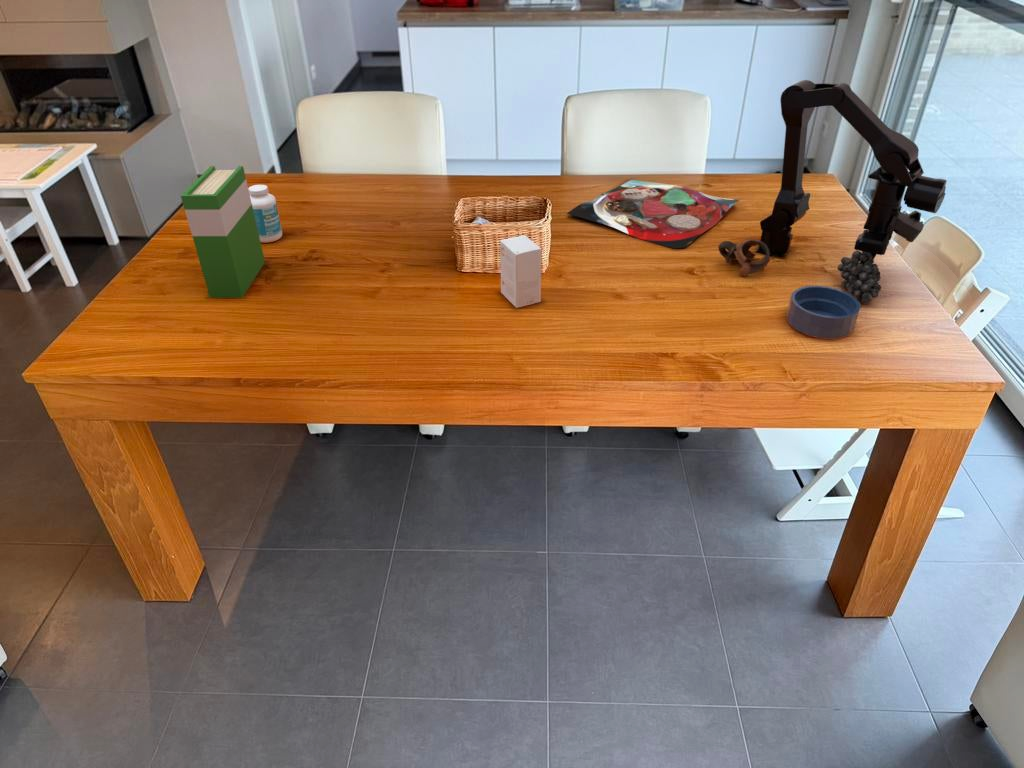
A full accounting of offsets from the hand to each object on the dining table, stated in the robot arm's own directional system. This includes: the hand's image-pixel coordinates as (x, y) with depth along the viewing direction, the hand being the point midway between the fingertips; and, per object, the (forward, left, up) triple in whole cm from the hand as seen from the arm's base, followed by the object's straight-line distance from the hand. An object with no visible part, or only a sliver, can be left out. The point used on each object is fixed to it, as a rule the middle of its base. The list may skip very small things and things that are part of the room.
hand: (867, 265), depth 169 cm
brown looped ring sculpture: (-26, -9, -3) cm, 28 cm away
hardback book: (-126, -74, -3) cm, 146 cm away
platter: (-57, +11, -3) cm, 58 cm away
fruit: (0, -9, -3) cm, 9 cm away
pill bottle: (-137, -54, -3) cm, 147 cm away
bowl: (-4, -26, -3) cm, 27 cm away
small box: (-64, -48, -3) cm, 80 cm away
